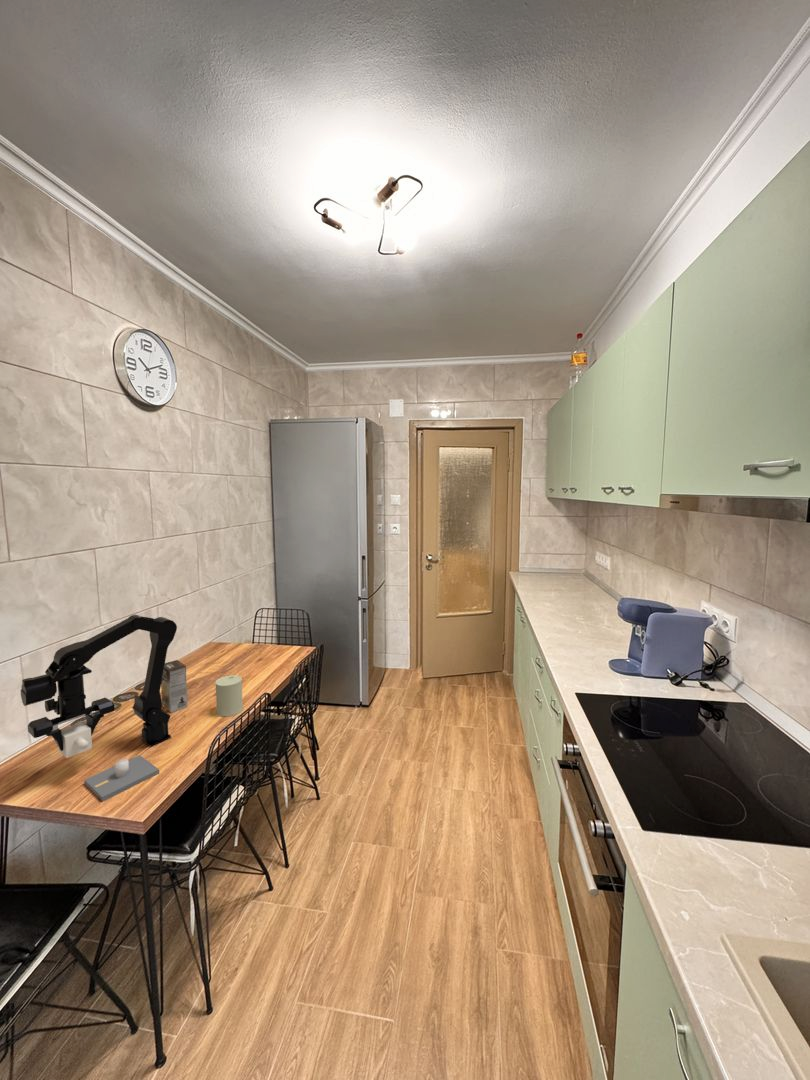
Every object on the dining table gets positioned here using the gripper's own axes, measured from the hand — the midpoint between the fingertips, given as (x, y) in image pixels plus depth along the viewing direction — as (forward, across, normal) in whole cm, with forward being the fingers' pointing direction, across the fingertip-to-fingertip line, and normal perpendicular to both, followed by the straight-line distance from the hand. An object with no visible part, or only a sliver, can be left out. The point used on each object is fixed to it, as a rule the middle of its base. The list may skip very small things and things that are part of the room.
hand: (75, 744), depth 122 cm
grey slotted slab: (+8, -6, +14) cm, 17 cm away
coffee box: (+8, -36, -17) cm, 41 cm away
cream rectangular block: (+1, 0, +2) cm, 2 cm away
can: (+8, -46, +3) cm, 47 cm away
